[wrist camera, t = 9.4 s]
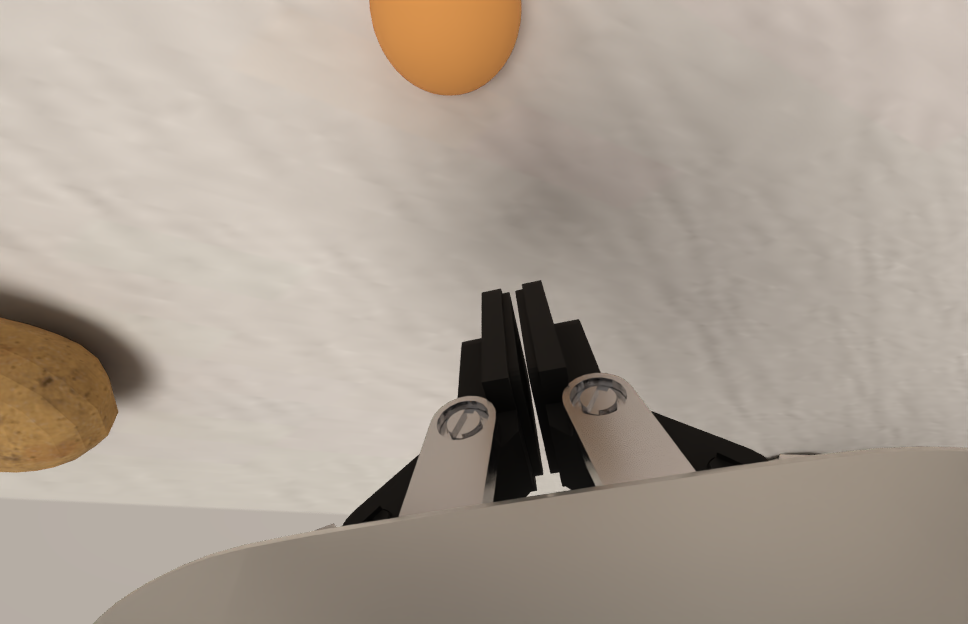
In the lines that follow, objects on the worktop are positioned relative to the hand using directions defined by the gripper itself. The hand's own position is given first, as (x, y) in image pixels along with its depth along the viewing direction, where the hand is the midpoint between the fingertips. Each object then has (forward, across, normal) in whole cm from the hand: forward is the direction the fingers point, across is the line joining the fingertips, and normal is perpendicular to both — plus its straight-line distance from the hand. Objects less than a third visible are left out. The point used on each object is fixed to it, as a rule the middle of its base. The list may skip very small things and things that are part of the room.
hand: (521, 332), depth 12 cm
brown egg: (+11, 0, -9) cm, 14 cm away
